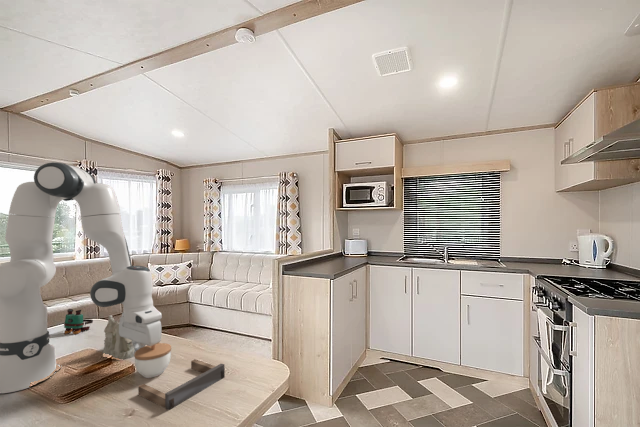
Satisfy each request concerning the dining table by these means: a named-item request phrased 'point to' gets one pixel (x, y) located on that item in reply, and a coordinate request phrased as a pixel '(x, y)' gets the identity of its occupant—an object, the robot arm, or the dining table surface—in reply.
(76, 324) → the binoculars
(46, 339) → the robot arm
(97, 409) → the dining table surface
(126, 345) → the ceramic cottage
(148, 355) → the lidded jar
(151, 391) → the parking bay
